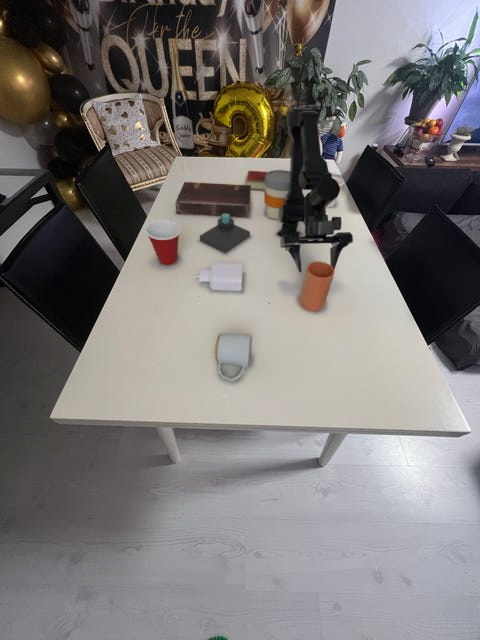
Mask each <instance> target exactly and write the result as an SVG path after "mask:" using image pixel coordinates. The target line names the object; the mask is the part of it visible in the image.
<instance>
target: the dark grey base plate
mask: <svg viewBox="0 0 480 640" xmlns="http://www.w3.org/2000/svg"><path fill="white" fill-rule="evenodd" d="M250 237H251V231H249V230H248V229H246V228H243V227H240V226H239V225H237V224H235V220H234V219H233V217H230V223H222V216H220V218H218V219H217V225H215V226H214V227H212V228H209V230H206V231H205V232H204V233H202V234H200V235H199V241H200V242H201V243H204V244H205V245H207V246H210V247H211V248H214V249H216V250H217V251H219V252H221V253H223V254H227V253H228V252H229V251H232V250H233V249H234V248H236V247H237V246H239V245H240V244H242V243H243V242H245V241H246V240H247V239H249V238H250Z"/></svg>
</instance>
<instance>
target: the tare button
mask: <svg viewBox="0 0 480 640" xmlns="http://www.w3.org/2000/svg"><path fill="white" fill-rule="evenodd" d="M221 217H222V223H230V218H231V217H230V215H229V214H227V213H225V214H222V216H221Z"/></svg>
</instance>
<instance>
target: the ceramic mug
mask: <svg viewBox="0 0 480 640" xmlns="http://www.w3.org/2000/svg"><path fill="white" fill-rule="evenodd" d="M252 344H253V336H252V334H247V333H233V332H232V333H230V332H228V333H227V332H222V333H219V334H218V335H217V337H216V340H215V345H214V347H215V348H214V358H215V361H216V363H218V372H219V375H220V376H221V377H222V378H223V379H224V380H226V381H230V382H233V381H237V380H238V379H240V378H241V377H242V376H243V373H244V371H245V369H246V368H249V367H250V363H251V355H252V347H253V346H252ZM222 365H231V366H235V367H240V368H242V369H241V370H240V372H239V374H238V375H236V376H235V377H231V376H228V375H227V374H224V373H223V372H222Z"/></svg>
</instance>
